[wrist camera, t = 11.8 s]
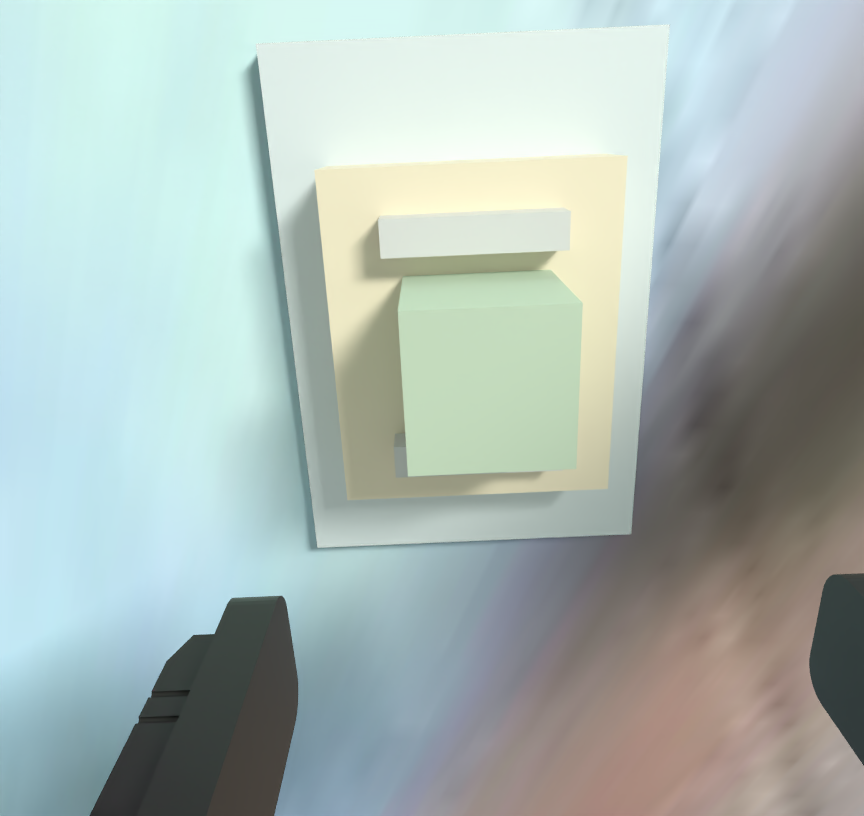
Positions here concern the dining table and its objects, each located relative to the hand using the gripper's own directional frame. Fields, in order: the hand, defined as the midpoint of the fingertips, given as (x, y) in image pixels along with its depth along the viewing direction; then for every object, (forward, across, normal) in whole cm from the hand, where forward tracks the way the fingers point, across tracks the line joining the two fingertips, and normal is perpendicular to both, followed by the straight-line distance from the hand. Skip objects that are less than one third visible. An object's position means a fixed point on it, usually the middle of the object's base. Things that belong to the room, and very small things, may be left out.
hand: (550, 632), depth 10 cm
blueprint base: (+19, 0, 0) cm, 19 cm away
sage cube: (+15, 0, 0) cm, 15 cm away
